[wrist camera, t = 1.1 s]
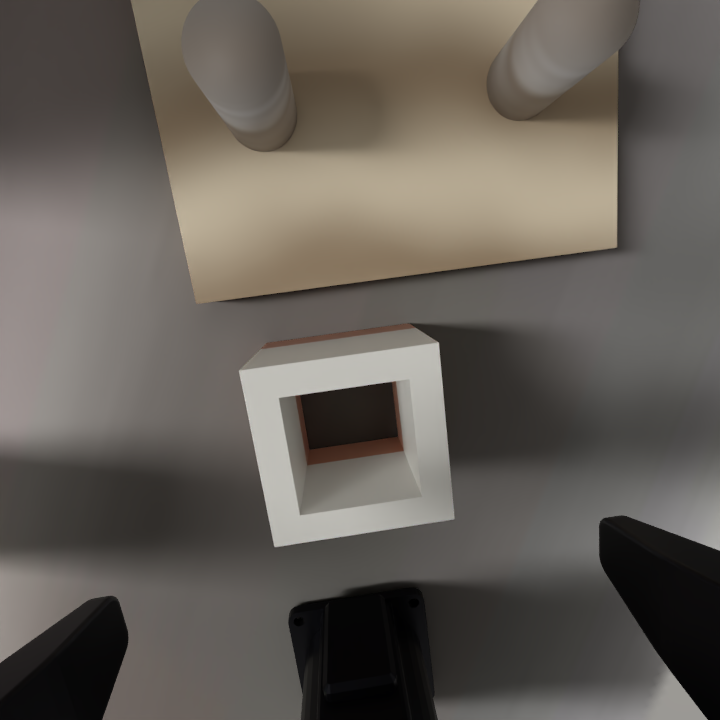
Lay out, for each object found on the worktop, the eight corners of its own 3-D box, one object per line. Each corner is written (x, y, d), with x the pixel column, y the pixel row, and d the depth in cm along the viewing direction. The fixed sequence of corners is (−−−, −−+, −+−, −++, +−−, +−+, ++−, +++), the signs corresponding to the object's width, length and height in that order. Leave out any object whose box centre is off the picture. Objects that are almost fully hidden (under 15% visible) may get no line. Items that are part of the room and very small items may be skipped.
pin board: (592, 250, 17) (713, 237, 11) (208, 301, 16) (146, 314, 11) (590, -98, 14) (745, -324, 9) (135, -51, 14) (6, -261, 8)
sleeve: (422, 454, 18) (454, 519, 13) (290, 473, 18) (274, 547, 13) (408, 323, 17) (438, 342, 12) (267, 342, 17) (239, 370, 12)
